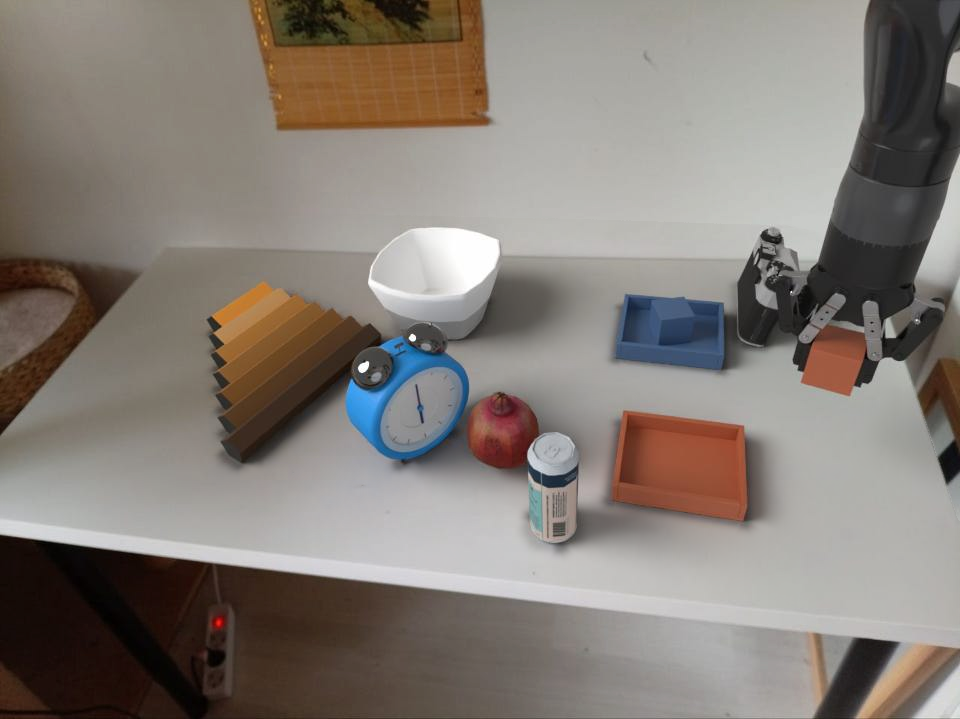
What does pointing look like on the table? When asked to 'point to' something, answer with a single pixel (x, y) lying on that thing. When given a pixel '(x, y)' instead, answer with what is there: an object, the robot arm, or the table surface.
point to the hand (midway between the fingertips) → (830, 373)
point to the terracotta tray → (681, 465)
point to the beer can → (553, 487)
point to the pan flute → (277, 361)
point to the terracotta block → (835, 359)
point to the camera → (766, 288)
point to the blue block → (671, 321)
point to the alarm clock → (407, 392)
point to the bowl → (437, 278)
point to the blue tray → (698, 353)
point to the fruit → (502, 431)
